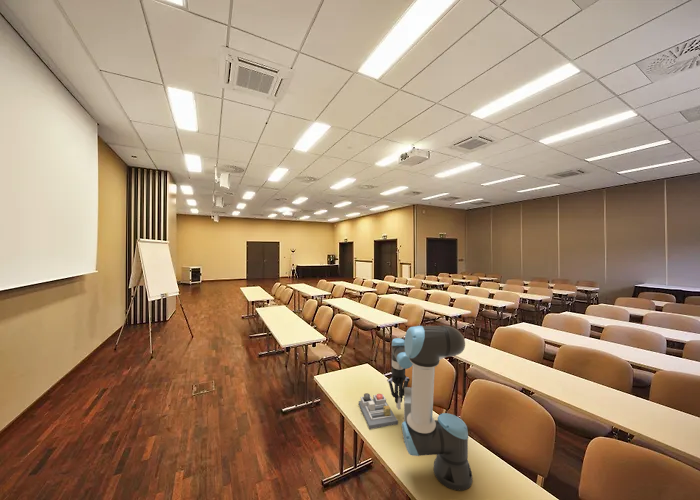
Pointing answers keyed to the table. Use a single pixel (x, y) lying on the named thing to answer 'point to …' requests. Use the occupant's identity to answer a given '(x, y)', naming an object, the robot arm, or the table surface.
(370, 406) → the slider white
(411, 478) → the table surface
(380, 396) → the button red
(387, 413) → the slider brass
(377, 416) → the panel
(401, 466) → the table surface
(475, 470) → the table surface
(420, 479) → the table surface
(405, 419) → the hard drive box
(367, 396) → the button black
